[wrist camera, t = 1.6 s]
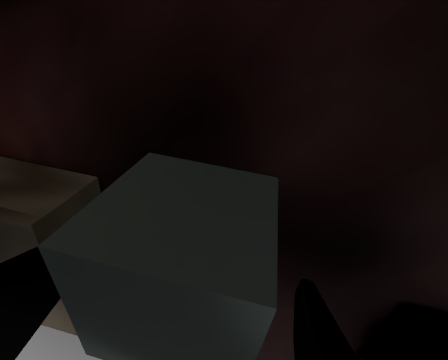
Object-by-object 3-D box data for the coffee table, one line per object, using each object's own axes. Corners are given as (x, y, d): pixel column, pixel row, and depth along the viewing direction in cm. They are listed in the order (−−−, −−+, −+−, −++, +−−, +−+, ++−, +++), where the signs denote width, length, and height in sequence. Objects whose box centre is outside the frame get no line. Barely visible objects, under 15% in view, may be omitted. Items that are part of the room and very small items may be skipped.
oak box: (100, 174, 12) (31, 225, 9) (120, 276, 16) (79, 336, 13) (-36, 145, 13) (-147, 181, 10) (17, 248, 17) (-46, 298, 14)
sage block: (278, 176, 10) (277, 309, 5) (254, 265, 13) (238, 402, 8) (150, 151, 11) (37, 246, 6) (156, 241, 14) (86, 354, 9)
